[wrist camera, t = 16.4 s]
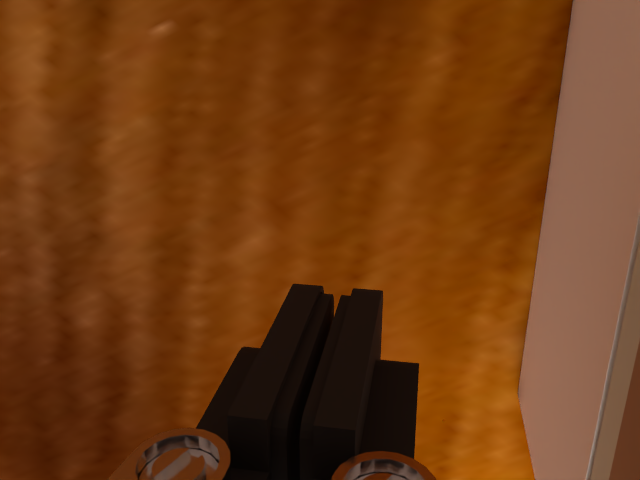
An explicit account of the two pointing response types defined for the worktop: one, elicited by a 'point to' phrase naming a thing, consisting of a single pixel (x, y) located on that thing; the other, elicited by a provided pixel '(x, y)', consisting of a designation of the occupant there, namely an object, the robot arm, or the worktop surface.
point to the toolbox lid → (623, 399)
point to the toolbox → (584, 241)
